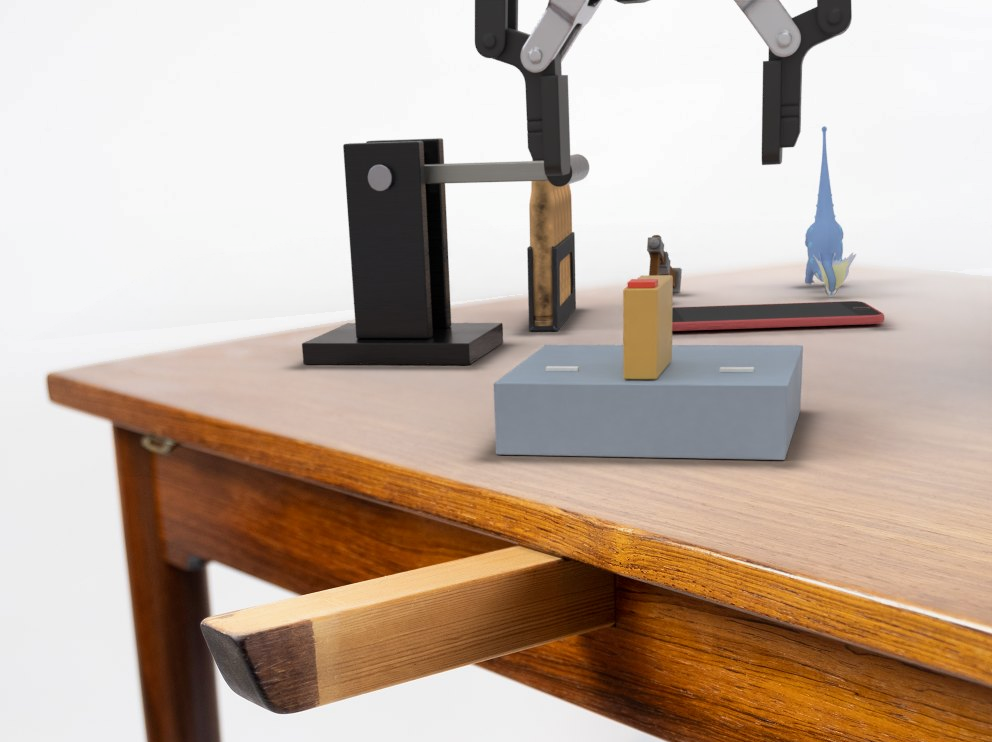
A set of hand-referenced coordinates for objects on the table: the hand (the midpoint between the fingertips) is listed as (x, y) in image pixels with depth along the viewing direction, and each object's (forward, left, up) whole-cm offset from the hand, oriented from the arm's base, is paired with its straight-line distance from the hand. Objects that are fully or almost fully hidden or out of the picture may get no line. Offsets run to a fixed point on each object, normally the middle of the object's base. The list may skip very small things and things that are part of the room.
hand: (662, 169), depth 60 cm
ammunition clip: (+13, -37, -11) cm, 41 cm away
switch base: (+1, -2, -11) cm, 11 cm away
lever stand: (+19, -23, -11) cm, 32 cm away
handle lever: (+14, -23, -2) cm, 27 cm away
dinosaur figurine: (-4, -52, -11) cm, 54 cm away
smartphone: (-1, -35, -11) cm, 37 cm away
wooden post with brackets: (+7, -47, -11) cm, 49 cm away
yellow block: (+1, 0, -8) cm, 8 cm away
